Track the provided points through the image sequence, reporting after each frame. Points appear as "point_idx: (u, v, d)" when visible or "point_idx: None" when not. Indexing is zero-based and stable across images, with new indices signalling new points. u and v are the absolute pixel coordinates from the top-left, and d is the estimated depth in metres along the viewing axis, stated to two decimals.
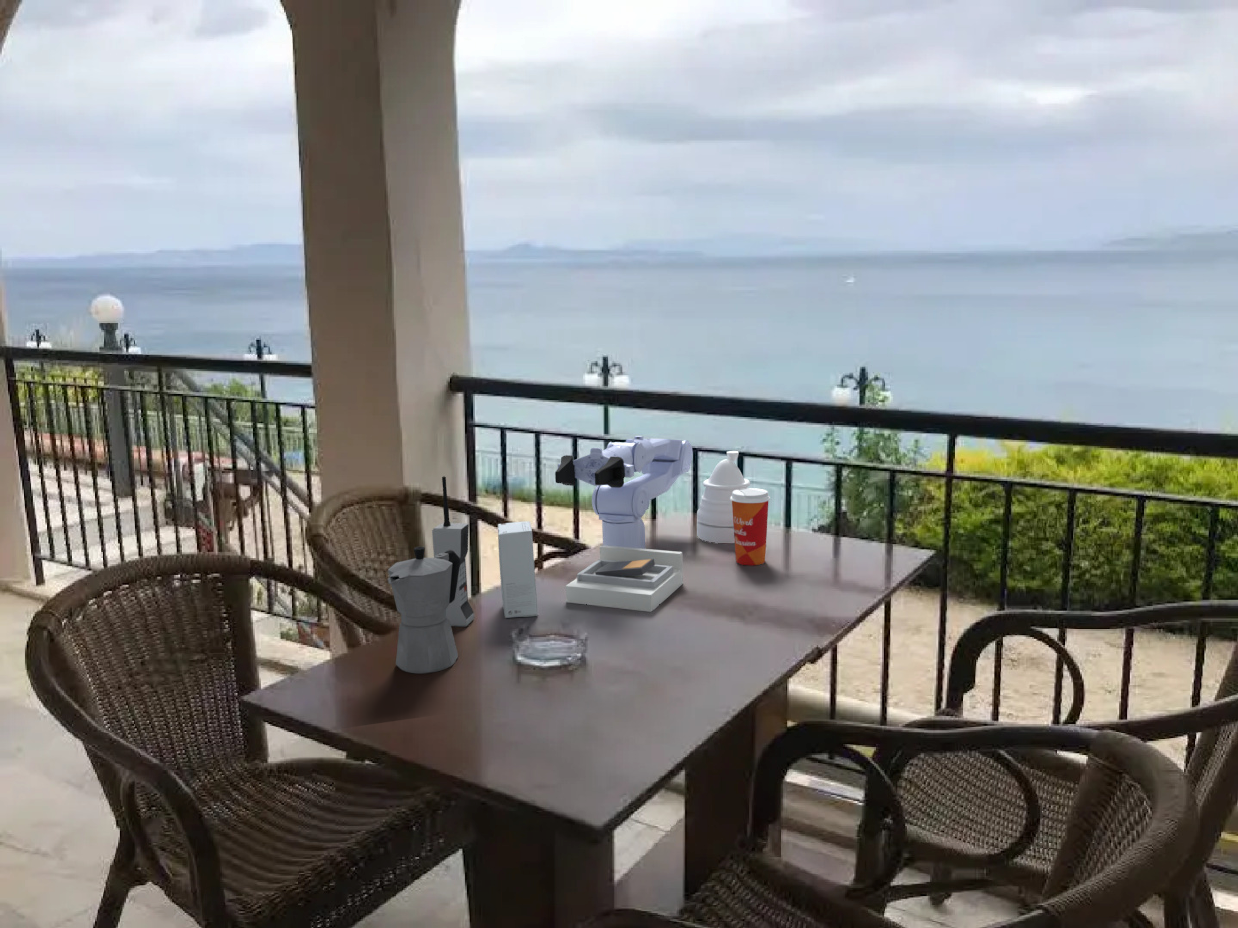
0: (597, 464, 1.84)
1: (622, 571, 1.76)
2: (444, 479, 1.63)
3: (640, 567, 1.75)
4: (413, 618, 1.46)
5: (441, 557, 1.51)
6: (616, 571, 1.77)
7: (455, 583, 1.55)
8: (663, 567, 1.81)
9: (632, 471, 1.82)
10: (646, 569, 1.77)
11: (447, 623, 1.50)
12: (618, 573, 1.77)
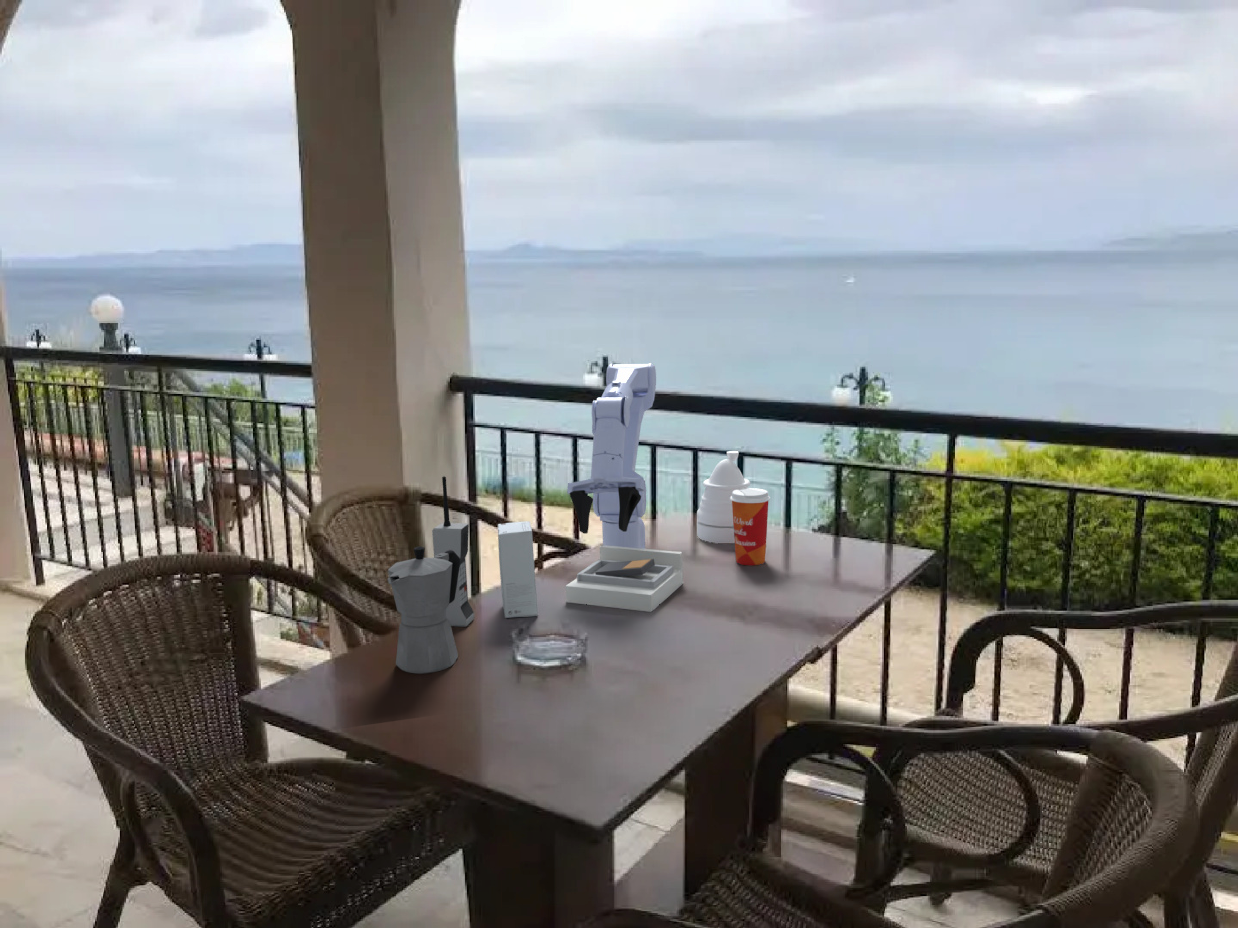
0: (605, 483, 1.81)
1: (622, 571, 1.76)
2: (444, 479, 1.63)
3: (640, 567, 1.75)
4: (413, 618, 1.46)
5: (441, 557, 1.51)
6: (616, 571, 1.77)
7: (455, 583, 1.55)
8: (663, 567, 1.81)
9: (643, 484, 1.79)
10: (646, 569, 1.77)
11: (447, 623, 1.50)
12: (618, 573, 1.77)
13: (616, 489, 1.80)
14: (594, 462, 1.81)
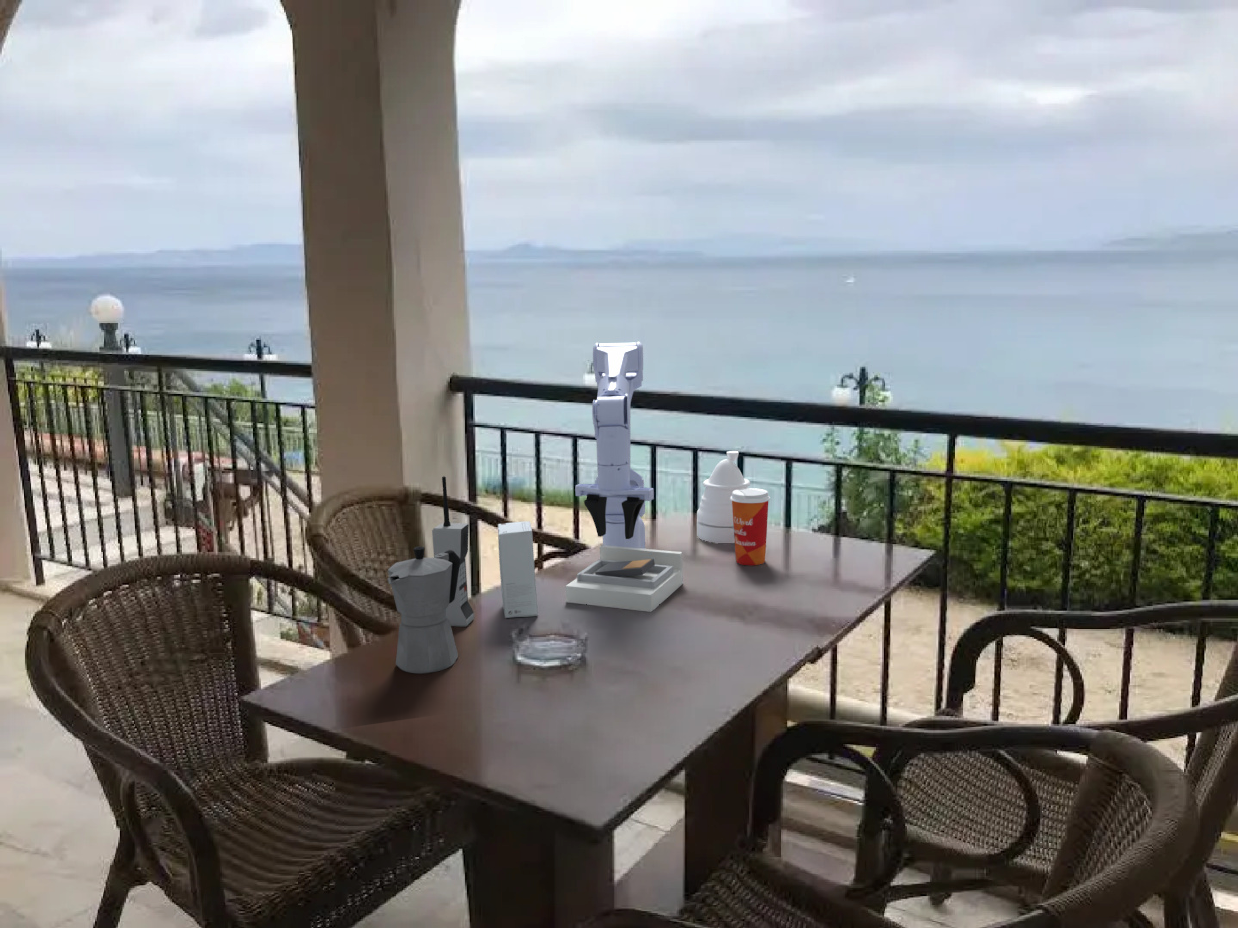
0: None
1: (622, 571, 1.76)
2: (444, 479, 1.63)
3: (640, 567, 1.75)
4: (413, 618, 1.46)
5: (441, 557, 1.51)
6: (616, 571, 1.77)
7: (455, 583, 1.55)
8: (663, 567, 1.81)
9: (651, 494, 1.78)
10: (646, 569, 1.77)
11: (447, 623, 1.50)
12: (618, 573, 1.77)
13: (625, 497, 1.80)
14: (600, 472, 1.78)
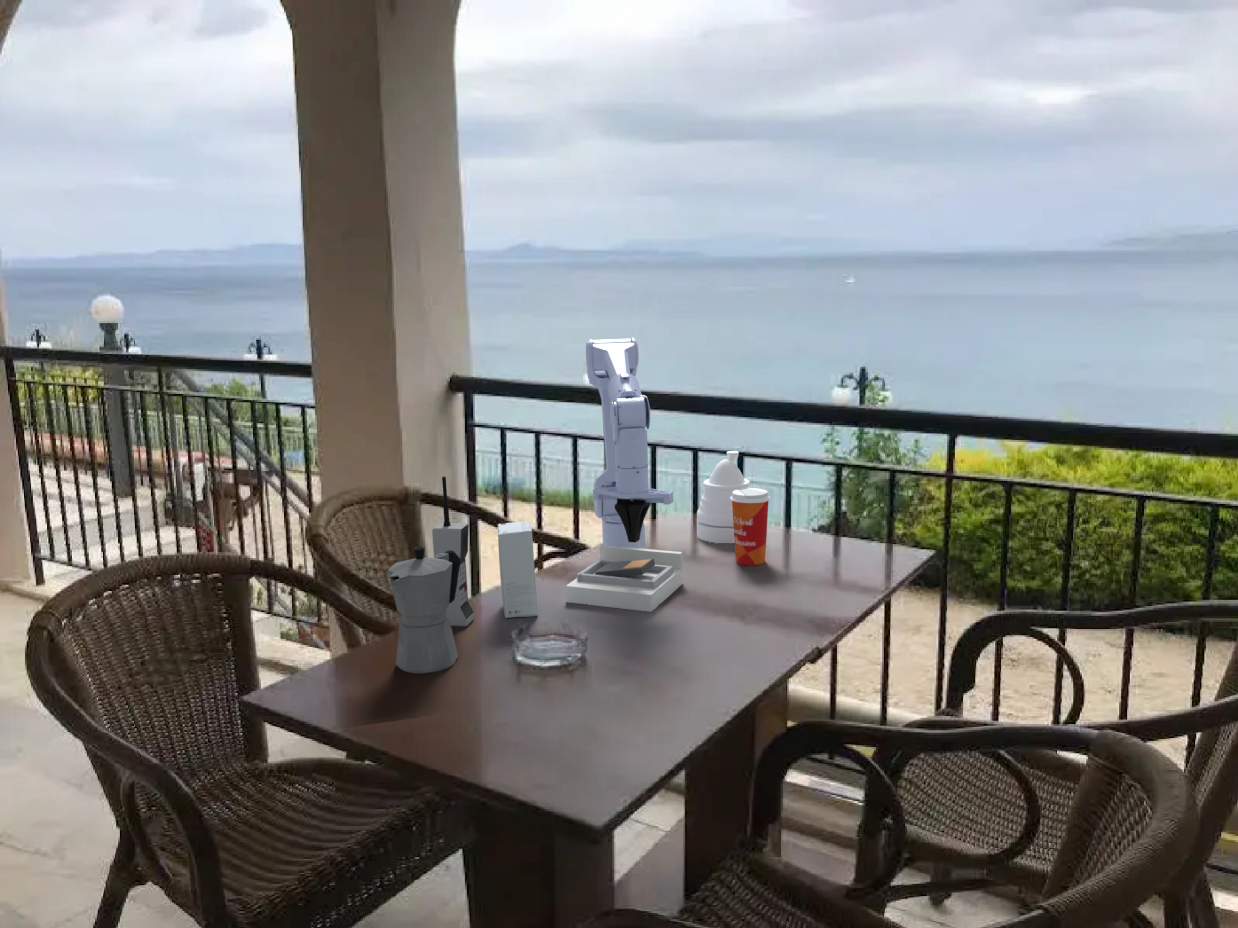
0: None
1: (622, 571, 1.76)
2: (444, 479, 1.63)
3: (640, 567, 1.75)
4: (413, 618, 1.46)
5: (441, 557, 1.51)
6: (616, 571, 1.77)
7: (455, 583, 1.55)
8: (663, 567, 1.81)
9: (671, 498, 1.74)
10: (646, 569, 1.77)
11: (447, 623, 1.50)
12: (618, 573, 1.77)
13: None
14: (618, 475, 1.74)
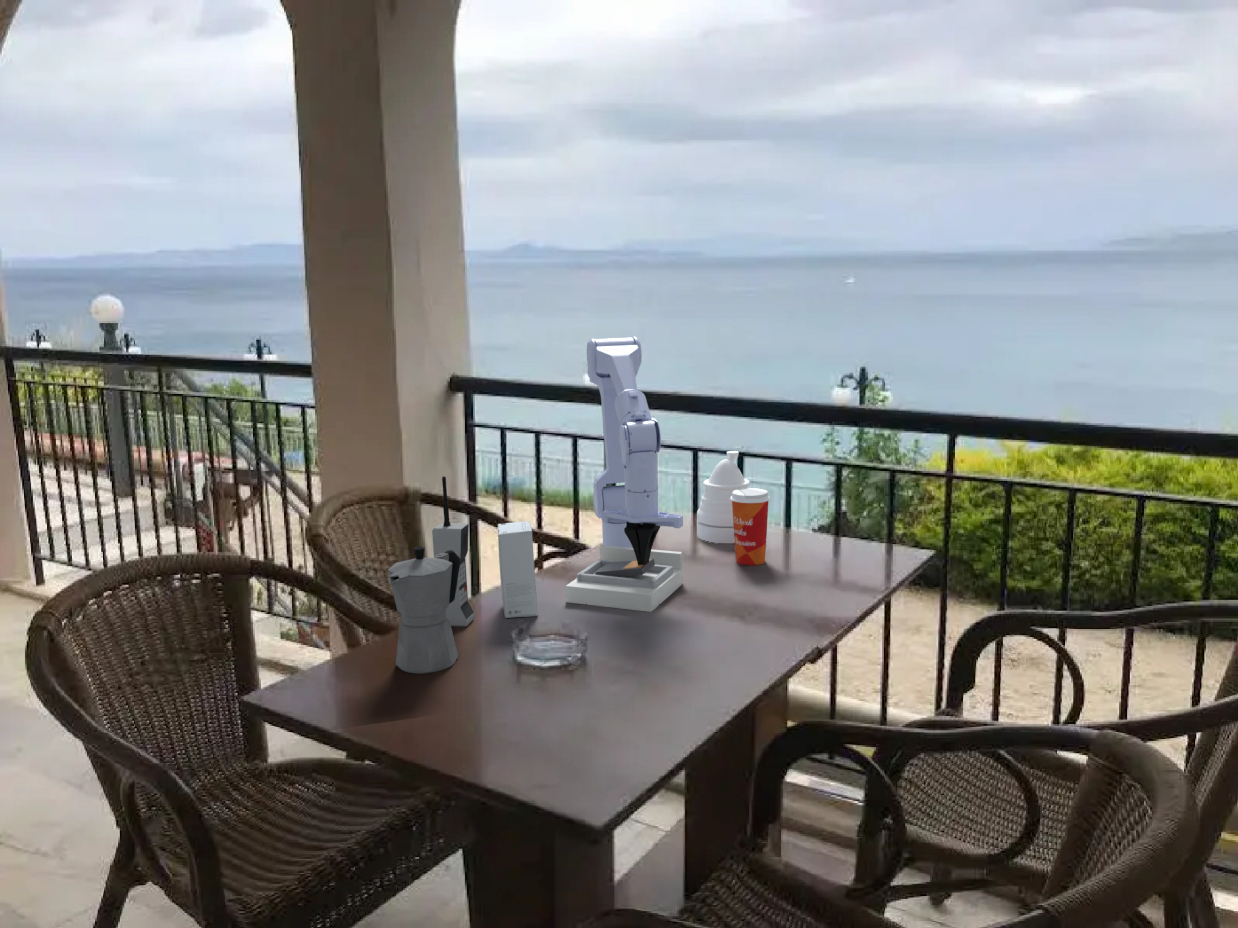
0: None
1: (622, 571, 1.76)
2: (444, 479, 1.63)
3: (640, 567, 1.75)
4: (413, 618, 1.46)
5: (441, 557, 1.51)
6: (616, 571, 1.77)
7: (455, 583, 1.55)
8: (663, 567, 1.81)
9: (681, 522, 1.73)
10: (646, 569, 1.77)
11: (447, 623, 1.50)
12: (618, 573, 1.77)
13: (653, 524, 1.75)
14: (628, 499, 1.74)
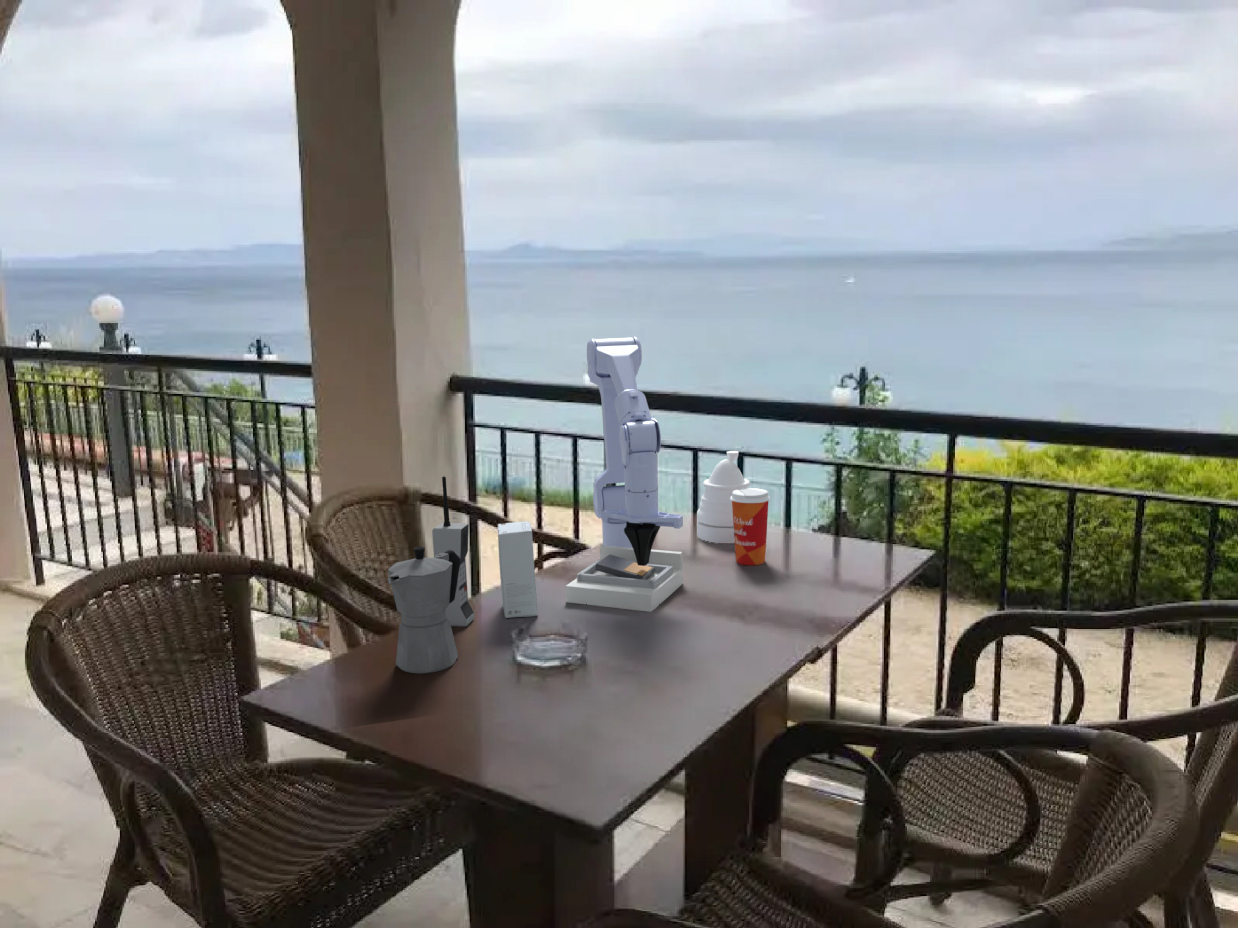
0: None
1: (623, 573, 1.76)
2: (444, 479, 1.63)
3: (641, 575, 1.75)
4: (413, 618, 1.46)
5: (441, 557, 1.51)
6: (617, 570, 1.77)
7: (455, 583, 1.55)
8: (663, 567, 1.81)
9: (681, 522, 1.73)
10: (646, 578, 1.77)
11: (447, 623, 1.50)
12: (618, 573, 1.77)
13: (653, 524, 1.75)
14: (628, 499, 1.74)
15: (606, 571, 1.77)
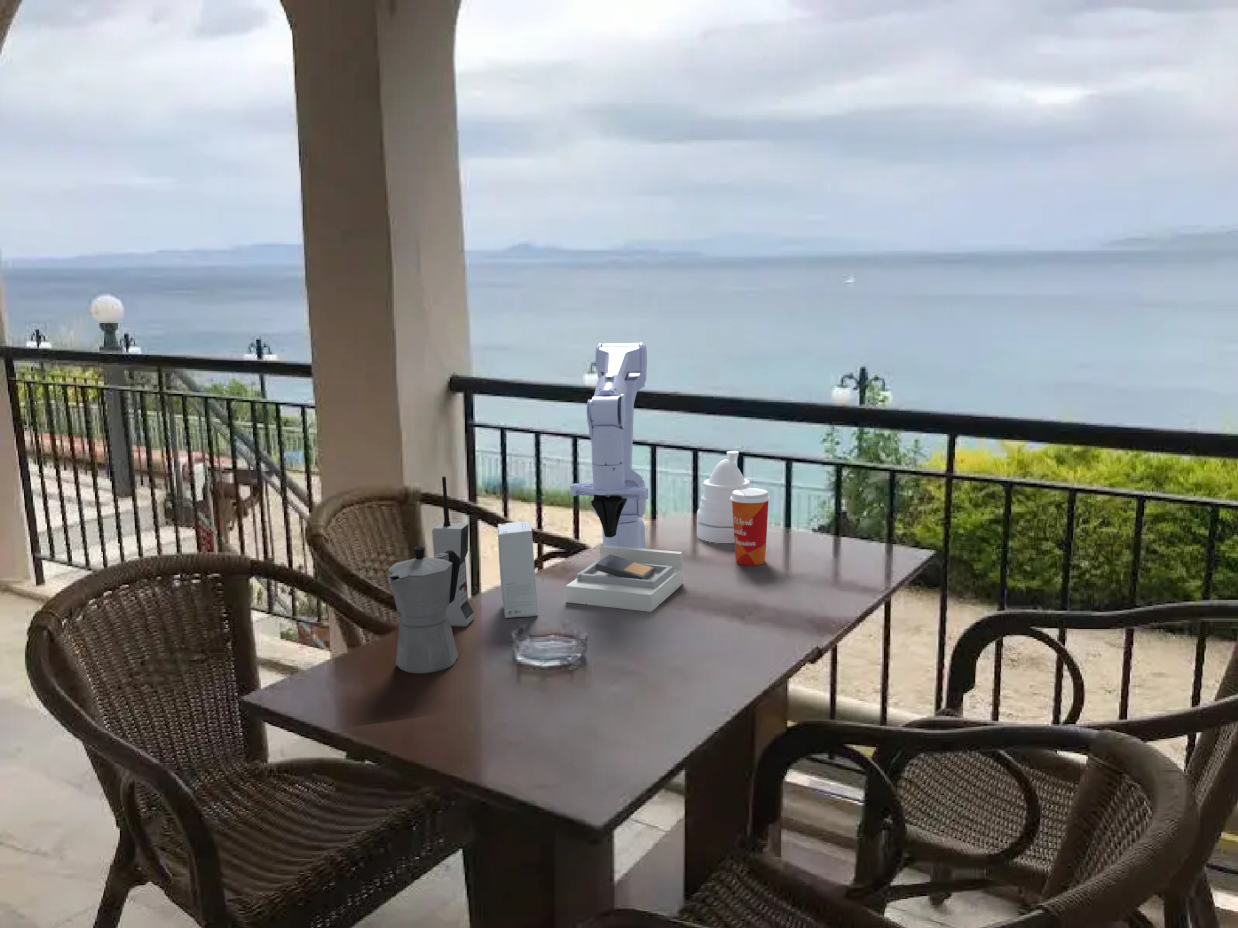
0: None
1: (623, 573, 1.76)
2: (444, 479, 1.63)
3: (641, 575, 1.75)
4: (413, 618, 1.46)
5: (441, 557, 1.51)
6: (617, 570, 1.77)
7: (455, 583, 1.55)
8: (663, 567, 1.81)
9: (646, 494, 1.78)
10: (646, 578, 1.77)
11: (447, 623, 1.50)
12: (618, 573, 1.77)
13: None
14: (595, 472, 1.79)
15: (606, 571, 1.77)
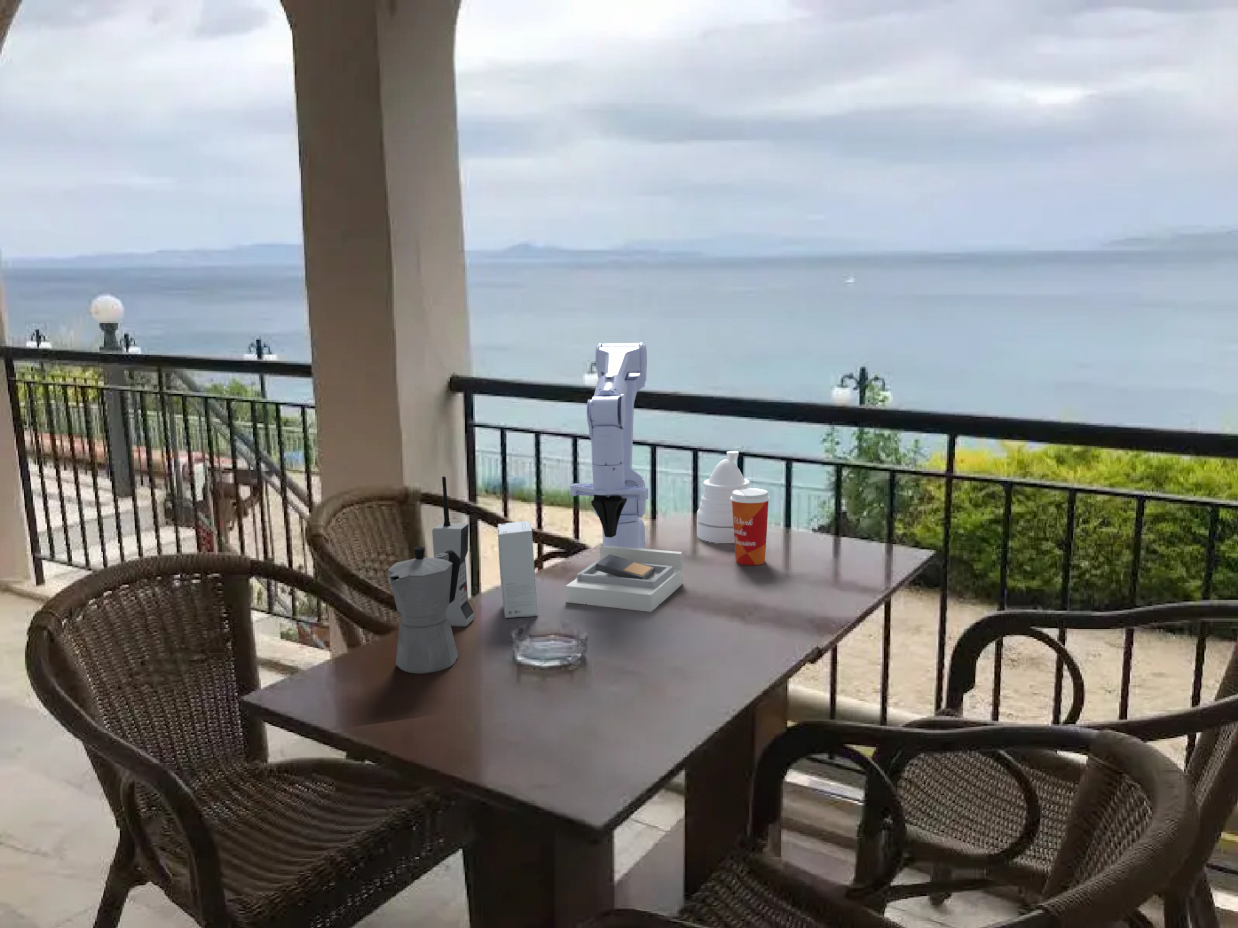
0: None
1: (623, 573, 1.76)
2: (444, 479, 1.63)
3: (641, 575, 1.75)
4: (413, 618, 1.46)
5: (441, 557, 1.51)
6: (617, 570, 1.77)
7: (455, 583, 1.55)
8: (663, 567, 1.81)
9: (646, 494, 1.78)
10: (646, 578, 1.77)
11: (447, 623, 1.50)
12: (618, 573, 1.77)
13: None
14: (595, 472, 1.79)
15: (606, 571, 1.77)
